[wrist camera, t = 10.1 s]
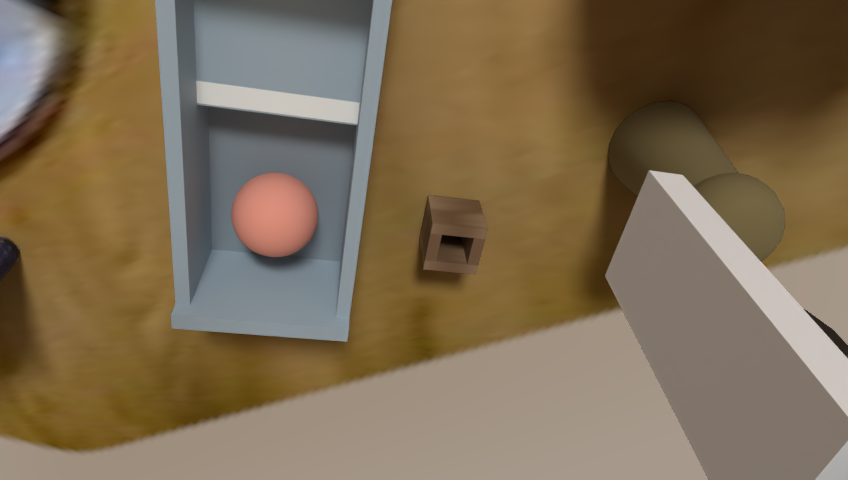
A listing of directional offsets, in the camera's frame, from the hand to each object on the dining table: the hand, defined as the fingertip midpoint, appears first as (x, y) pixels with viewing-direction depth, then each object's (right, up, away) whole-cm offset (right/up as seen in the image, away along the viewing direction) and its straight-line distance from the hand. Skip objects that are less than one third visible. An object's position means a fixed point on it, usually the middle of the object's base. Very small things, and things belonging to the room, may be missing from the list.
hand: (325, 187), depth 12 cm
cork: (+17, +5, +26) cm, 31 cm away
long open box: (-6, +8, +22) cm, 24 cm away
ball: (-7, 0, +24) cm, 25 cm away
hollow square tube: (+4, 0, +28) cm, 28 cm away
